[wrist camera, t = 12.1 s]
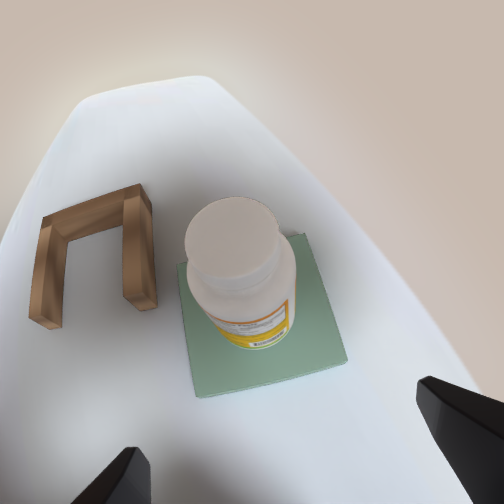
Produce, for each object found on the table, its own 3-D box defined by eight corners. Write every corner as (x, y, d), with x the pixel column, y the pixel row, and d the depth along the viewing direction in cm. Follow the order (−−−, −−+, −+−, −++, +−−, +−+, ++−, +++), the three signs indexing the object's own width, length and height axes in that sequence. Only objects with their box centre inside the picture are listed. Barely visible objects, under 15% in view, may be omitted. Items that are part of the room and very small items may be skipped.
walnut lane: (157, 307, 24) (142, 291, 21) (49, 329, 23) (28, 317, 21) (151, 203, 29) (139, 183, 26) (58, 233, 29) (42, 217, 26)
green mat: (344, 363, 20) (348, 360, 19) (200, 398, 20) (195, 397, 19) (304, 241, 25) (304, 233, 24) (181, 271, 25) (176, 264, 24)
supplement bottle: (237, 265, 23) (207, 172, 15) (307, 292, 22) (316, 203, 13) (202, 331, 21) (143, 264, 13) (275, 364, 19) (262, 317, 11)
